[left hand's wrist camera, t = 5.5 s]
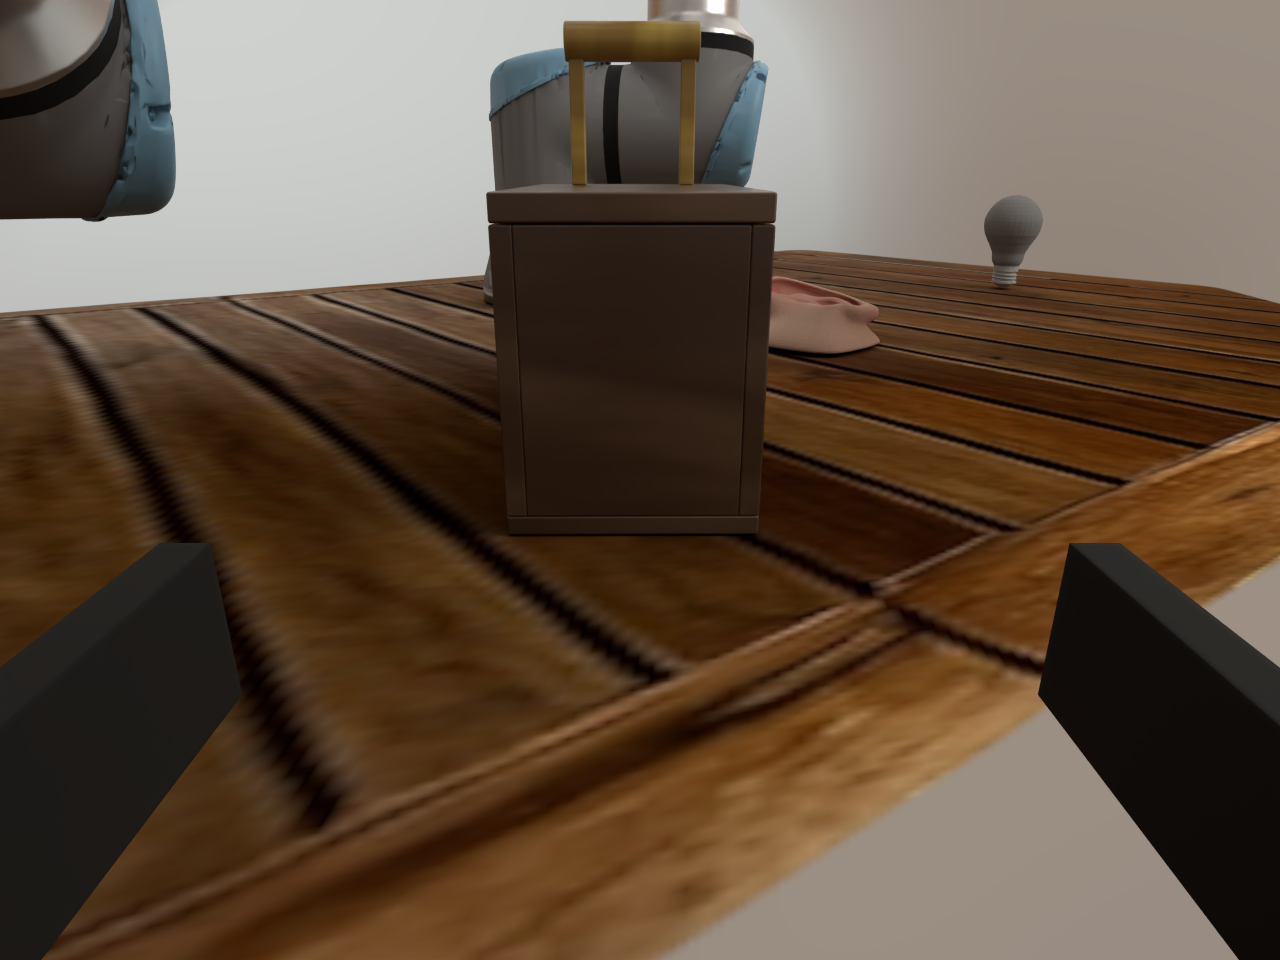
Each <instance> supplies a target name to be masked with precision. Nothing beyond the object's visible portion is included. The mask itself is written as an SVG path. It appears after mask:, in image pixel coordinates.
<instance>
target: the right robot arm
mask: <svg viewBox="0 0 1280 960" xmlns="http://www.w3.org/2000/svg"><path fill="white" fill-rule="evenodd" d="M648 21H700V23H701V49H700V60H699V62H696V98H695V143H694V184H726V185H732V186H739V187H744V186H745V185H746V184H747V182H748V180H749V178H750V174H751V169H752V163H753V158H754V152H755V146H756V140H757V134H758V128H759V123H760V116H761V111H762V104H763V98H764V92H765V86H766V79H767V74H768V66H767V65H766V64H764V63H761V62H760V61H755V62H753V54H754V41H753V39H752V38H751V37H750V36H749V35H748V33H747V32H746V31H745V30H744V29H743V28H742V27H741V25H740V23H739V0H648ZM609 64H610V65H609ZM490 94H491V111H490V114H489V121H490V122H491V131H492V146H493V162H494V177H495V191H499V190H505V189H512V188H519V187H526V186H533V185H540V184H572V171H571V136H570V101H569V65H568V62H566V61H565V55H564V48H558V49H550V50H544V51H538V52H533V53H529V54H524V55H520V56H517V57H514V58H511V59H508V60H506V61H504V62H503V63H501V64H500V65H498V66H497V67H496V68H495V70H494V72H493V74H492V76H491V82H490ZM585 108H586V154H587V184H678V172H679V109H680V62H631V64H627V65H611V62H585ZM483 287H484V299H485V301H487V302H489V303H492V304H493V294H492V278H491V262H490V256H489V260H488V264H487V269H486V272H485V277H484V285H483Z"/></svg>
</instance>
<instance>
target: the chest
mask: <svg viewBox="0 0 1280 960" xmlns="http://www.w3.org/2000/svg"><path fill="white" fill-rule="evenodd" d="M488 231H489V247H490V262H491V278H492V294H493V309H494V325H495V341H496V356H497V372H498V387H499V403H500V419H501V434H502V450H503V466H504V481H505V497H506V513H507V516H508V517H507V526H508V533H509V534H510V535H530V534H757V532H758V522H759V517H758V515H759V506H760V489H761V471H762V454H763V436H764V418H765V401H766V383H767V366H768V348H769V331H770V313H771V295H772V278H773V260H774V242H775V225H773V224H770V223H494V224H491V225H489V226H488Z"/></svg>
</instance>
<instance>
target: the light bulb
mask: <svg viewBox="0 0 1280 960" xmlns="http://www.w3.org/2000/svg"><path fill="white" fill-rule="evenodd" d="M1042 222H1043V218H1042V213H1041V211H1040V208H1039V207H1038V205H1037V204H1036V203H1035V202H1034V201H1033V200H1032V199H1030V198H1028V197H1025V196H1021V195H1013V196H1009V197H1005V198H1003V199H1001V200H1000V201H998V202H997V203H996V204H995V205H994V206H993V207H992V208H991V209H990V211H989V212H988V214H987V216H986V218H985V223H984V230H985V235H986V237H987V240H988V242H989V244H990V247H991V250H992V262H993V264H994V268H993V270H995V271H994V272H993V273H994V275H992V277H994V278H993V279H992V281H991V282H992V283H994V284H996V285H997V286H999V287H1009V286H1011V285H1013V284H1015V283H1016V281H1015V279H1017V278H1015V276H1017V275H1016V272H1018V267H1019V265H1020V264H1021V263H1022V261H1023V258H1024V254H1025V252H1026V251H1027V249H1028V248H1029V246H1030V245H1031V244H1032V243H1033V241H1034V240H1035V238H1036V237H1037V236H1038V234H1039V232H1040V230H1041V227H1042Z"/></svg>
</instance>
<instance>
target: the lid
mask: <svg viewBox="0 0 1280 960" xmlns="http://www.w3.org/2000/svg"><path fill="white" fill-rule="evenodd" d="M563 36H564V55H565V61H566V62H568V65H569V101H570V136H571V171H572V184H540V185H533V186H526V187H519V188H512V189H505V190H499V191H492V192H487V194H486V198H487V214H488V222H489V223H774V222H775V221H776V206H777V193H776V192H772V191H766V190H759V189H752V188H746V187H739V186H732V185H726V184H694V143H695V98H696V62H699V60H700V49H701V23H700V21H565V22H564V28H563ZM585 62H680V109H679V172H678V184H587V154H586V108H585Z"/></svg>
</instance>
